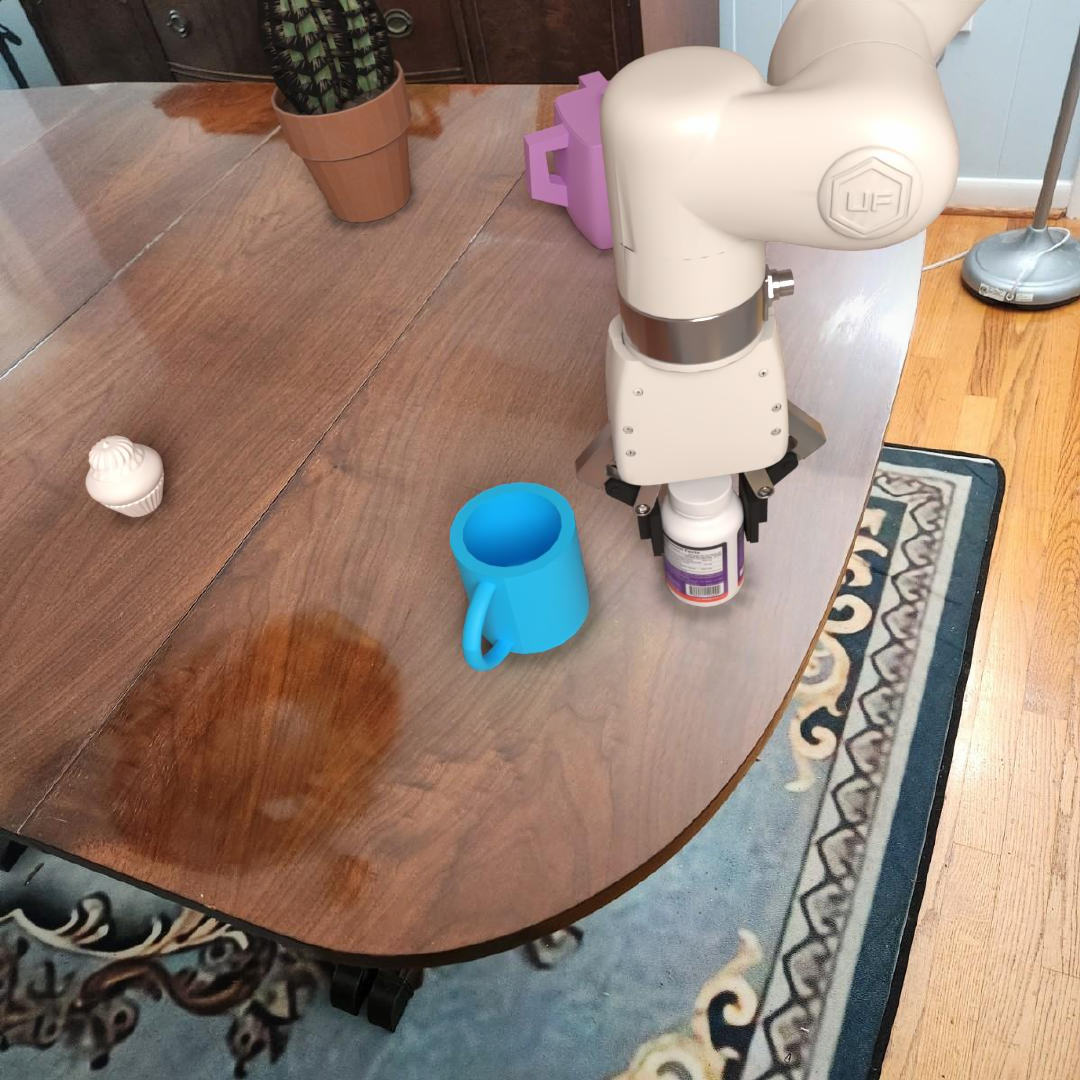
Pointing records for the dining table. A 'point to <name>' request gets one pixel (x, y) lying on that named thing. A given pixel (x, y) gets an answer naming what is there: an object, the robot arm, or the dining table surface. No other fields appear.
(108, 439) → the muffin
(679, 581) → the pill bottle
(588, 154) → the teakettle
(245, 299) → the dining table surface
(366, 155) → the potted plant
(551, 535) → the mug
